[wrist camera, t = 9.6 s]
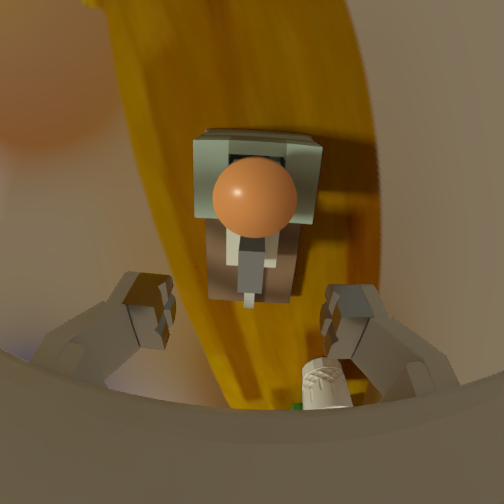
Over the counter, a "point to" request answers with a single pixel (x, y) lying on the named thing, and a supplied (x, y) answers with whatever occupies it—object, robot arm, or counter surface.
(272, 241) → the carriage
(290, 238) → the rail bed
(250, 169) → the button
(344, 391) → the white cup
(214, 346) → the counter surface
